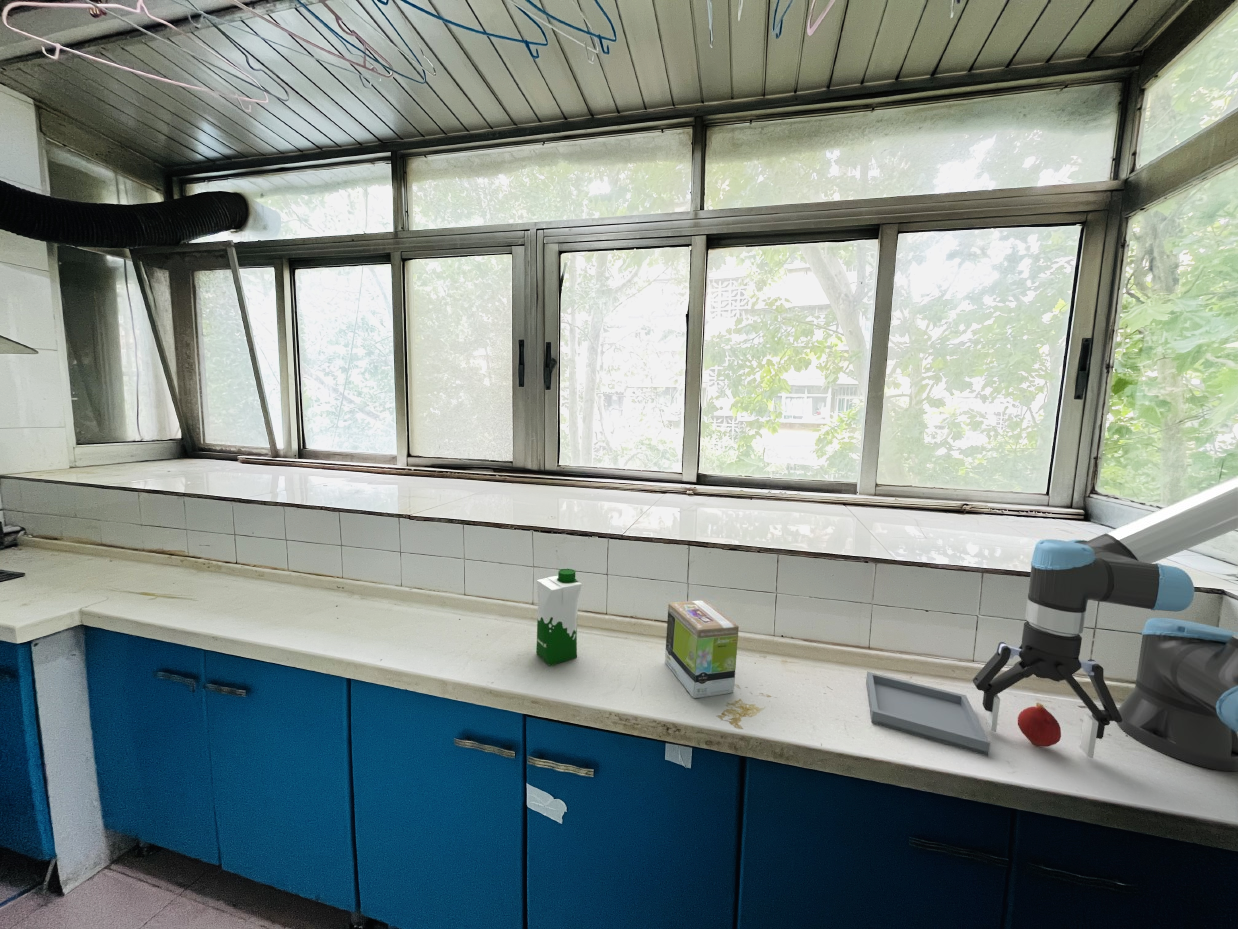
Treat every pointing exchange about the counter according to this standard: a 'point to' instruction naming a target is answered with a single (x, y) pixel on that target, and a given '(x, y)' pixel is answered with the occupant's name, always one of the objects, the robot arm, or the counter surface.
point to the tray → (925, 713)
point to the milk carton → (557, 617)
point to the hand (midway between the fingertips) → (1037, 739)
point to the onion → (1039, 726)
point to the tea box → (701, 648)
